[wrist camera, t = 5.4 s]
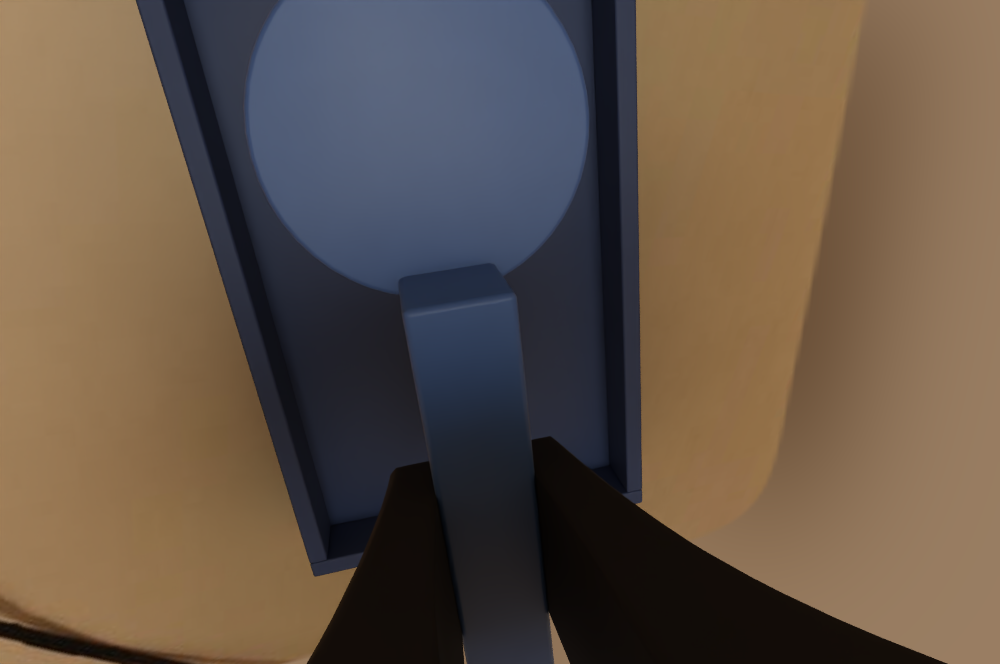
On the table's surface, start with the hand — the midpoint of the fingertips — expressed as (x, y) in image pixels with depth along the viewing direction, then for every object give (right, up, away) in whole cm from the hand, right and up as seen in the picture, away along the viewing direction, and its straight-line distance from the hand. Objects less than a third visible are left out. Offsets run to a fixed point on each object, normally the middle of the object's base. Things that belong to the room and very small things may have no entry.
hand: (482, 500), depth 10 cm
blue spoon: (-1, +2, +1) cm, 3 cm away
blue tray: (-1, +5, +6) cm, 8 cm away
